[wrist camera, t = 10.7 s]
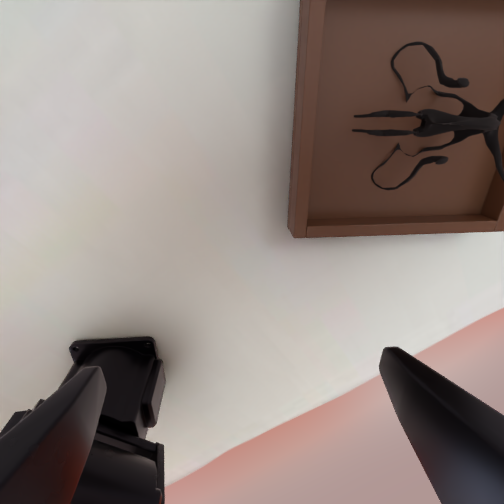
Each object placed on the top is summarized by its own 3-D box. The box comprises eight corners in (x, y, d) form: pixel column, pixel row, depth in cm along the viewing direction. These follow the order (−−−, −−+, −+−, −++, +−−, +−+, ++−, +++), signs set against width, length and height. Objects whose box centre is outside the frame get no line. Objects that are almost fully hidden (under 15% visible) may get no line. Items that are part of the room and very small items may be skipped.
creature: (339, 185, 20) (464, 188, 19) (354, 207, 15) (524, 212, 14) (357, 48, 16) (510, 42, 15) (383, 18, 11) (610, 7, 10)
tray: (287, 227, 20) (293, 238, 18) (301, -27, 14) (313, -50, 12) (479, 221, 21) (504, 231, 19) (564, -16, 15) (612, -35, 14)
